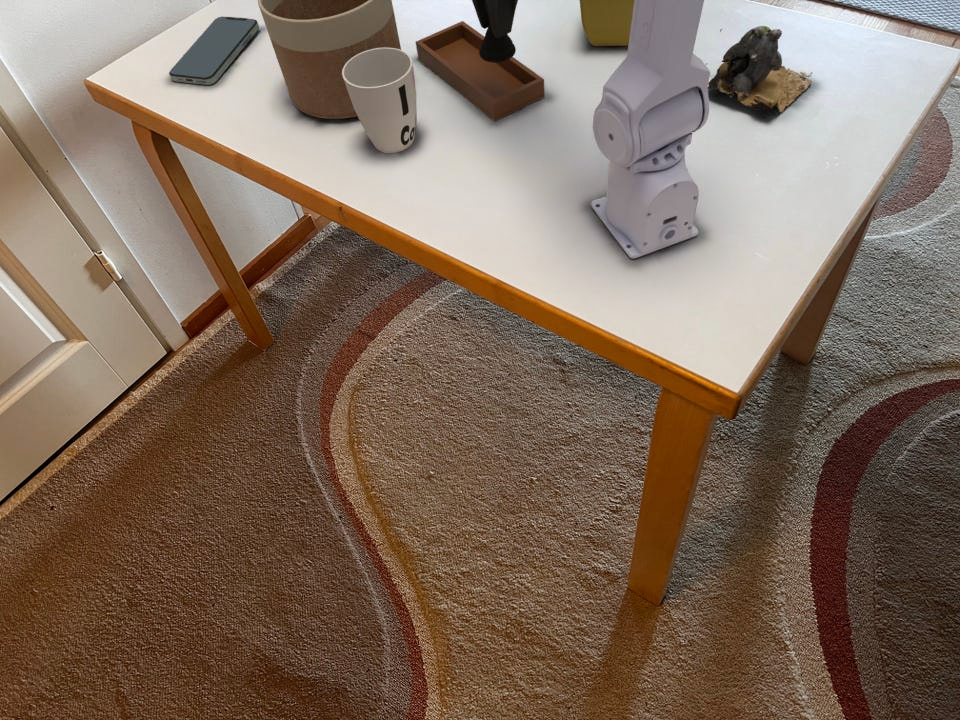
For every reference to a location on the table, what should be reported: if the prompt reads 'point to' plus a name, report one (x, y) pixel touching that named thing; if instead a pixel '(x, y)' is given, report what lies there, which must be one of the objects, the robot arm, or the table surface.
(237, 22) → the smartphone
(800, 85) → the figurine
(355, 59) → the cup
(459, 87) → the brown rectangular tray
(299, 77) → the planter
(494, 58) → the chess piece
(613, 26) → the flower pot
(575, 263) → the table surface
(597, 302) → the table surface
